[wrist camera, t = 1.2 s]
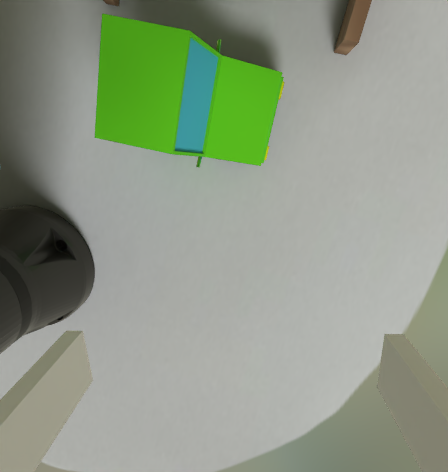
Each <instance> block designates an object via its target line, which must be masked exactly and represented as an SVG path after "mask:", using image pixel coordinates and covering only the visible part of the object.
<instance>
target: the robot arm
mask: <svg viewBox="0 0 448 472" xmlns="http://www.w3.org/2000/svg"><path fill="white" fill-rule="evenodd" d="M0 168H1V165H0ZM93 283H94V265H93V260H92V257H91V254H90V251H89V249H88V247H87V245H86V243H85V241H84V240H83V238H82V237H81V236H80V234H79V233H78V232H77V231H76V230H75V229H74V228H73V227H72V226H71V225H70V224H69V223H68V222H67V221H66V220H64V219H63V218H61V217H60V216H58V215H57V214H55V213H53V212H51V211H48V210H46V209H43V208H39V207H35V206H15V207H11V208H7V209H3V210H0V354H1V353H2V352H3V351H4V350H6V349H7V348H8V347H9V346H10V345H11V344H13V343H14V342H15V341H16V340H18V339H19V338H20V337H22V336H23V335H26V334H28V333H31V332H34V331H36V330H39V329H41V328H43V327H45V326H47V325H52V324H55V323H57V322H60V321H62V320H64V319H65V318H67V317H69V316H70V315H71V314H72V313H74V312H75V311H76V310H77V309H78V308H79V307H80V306H81V305H82V304H83V303H84V302H85V301H86V300H87V298H88V297H89V295H90V293H91V290H92V287H93ZM92 381H93V378H92V373H91V369H90V364H89V359H88V354H87V350H86V345H85V340H84V335H83V331H66V332H65V333H64V334H63V335H62V336H61V337H60V338H59V339H58V340H57V341H56V342H55V343H54V344H53V345H52V346H51V347H50V348H49V349H48V351H47V352H46V353H45V354H44V355H43V356H42V357H41V358H40V359H39V360H38V361H37V362H36V363H35V364H34V365H33V366H32V367H31V368H30V369H29V370H28V372H27V373H26V374H25V375H24V376H23V377H22V378H21V379H20V380H19V381H18V382H17V383H16V384H15V385H14V386H13V387H12V388H11V389H10V390H9V391H8V392H7V394H6V395H5V396H4V397H3V398H2V399H1V400H0V472H34V471H35V469H36V468H37V466H38V465H39V463H40V462H41V460H42V459H43V457H44V456H45V454H46V452H47V451H48V449H49V448H50V446H51V445H52V443H53V442H54V440H55V438H56V437H57V435H58V434H59V432H60V431H61V429H62V428H63V426H64V424H65V423H66V421H67V420H68V418H69V417H70V415H71V414H72V412H73V410H74V409H75V407H76V406H77V404H78V403H79V401H80V400H81V398H82V396H83V395H84V393H85V392H86V390H87V389H88V387H89V386H90V384H91V383H92ZM377 388H378V390H379V392H380V394H381V395H382V397H383V399H384V401H385V403H386V405H387V407H388V409H389V411H390V412H391V414H392V416H393V418H394V420H395V422H396V424H397V426H398V427H399V429H400V431H401V433H402V435H403V437H404V439H405V440H406V442H407V444H408V446H409V448H410V450H411V451H412V453H413V455H414V457H415V459H416V461H417V463H418V465H419V466H420V469H421V470H422V472H448V388H447V386H446V385H445V384H444V383H443V382H442V380H441V379H440V378H439V377H438V375H437V374H436V373H435V372H434V371H433V369H432V368H431V367H430V366H429V365H428V363H427V362H426V361H425V360H424V359H423V357H422V356H421V355H420V353H419V352H418V351H417V350H416V349H415V347H414V346H413V345H412V344H411V343H410V341H409V340H408V339H407V338H406V336H405V335H403V334H385V336H384V343H383V349H382V356H381V363H380V370H379V377H378V384H377Z"/></svg>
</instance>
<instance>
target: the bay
mask: <svg viewBox="0 0 448 472" xmlns="http://www.w3.org/2000/svg"><path fill="white" fill-rule="evenodd" d="M103 1H104V2H105V3H106V4H110V5H114V6H119V0H103ZM371 1H372V0H349V2H348V5H347V9H346V12H345V15H344V19H343V22H342V26H341V29H340V33H339V36H338V39H337V43H336V46H335V50H334V53H339V54H343V55H347V54H348V53H349V52H350V51H351V50H352V49H353V48H354V47H355V46H356V45H357V44H358V43H359V40H360V36H361V33H362V30H363V27H364V24H365V20H366V17H367V14H368V11H369V8H370V4H371Z"/></svg>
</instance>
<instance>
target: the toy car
mask: <svg viewBox="0 0 448 472" xmlns="http://www.w3.org/2000/svg"><path fill="white" fill-rule="evenodd" d="M220 46H221V39H220V40H217V47H216V50H215V49H213V48H212V47H211V46H209V45H208V44H207V43H205V42H204V41H203V40H201V39H200V38H199V37H197V36H196V35H195V34H193V33H192V32H191V31H189V30H184V29H179V28H174V27H169V26H163V25H158V24H153V23H148V22H143V21H138V20H133V19H127V18H122V17H117V16H112V15H107V14H102V25H101V42H100V58H99V75H98V91H97V108H96V124H95V138H99V139H104V140H108V141H113V142H118V143H122V144H127V145H132V146H136V147H141V148H146V149H150V150H155V151H160V152H164V153H169V154H176V155H189V156H199V157H198V161H197V166H196V167H200V163H201V159H202V157H209V158H215V159H222V160H228V161H234V162H240V163H246V164H252V165H259V166H261V163H264V160H266V158H267V154H268V149H269V146H268V142H269V137H270V133H271V129H272V125H273V120H274V116H275V112H276V108H277V103H278V99H279V100H280V98H281V94H282V90H283V86H284V82H283V78H284V77H281V76H282V72H279V71H275V70H272V69H268V68H265V67H261V66H258V65H254V64H251V63H247V62H243V61H240V60H236V59H233V58H229V57H226V56H222V55H221V54H220Z"/></svg>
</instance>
